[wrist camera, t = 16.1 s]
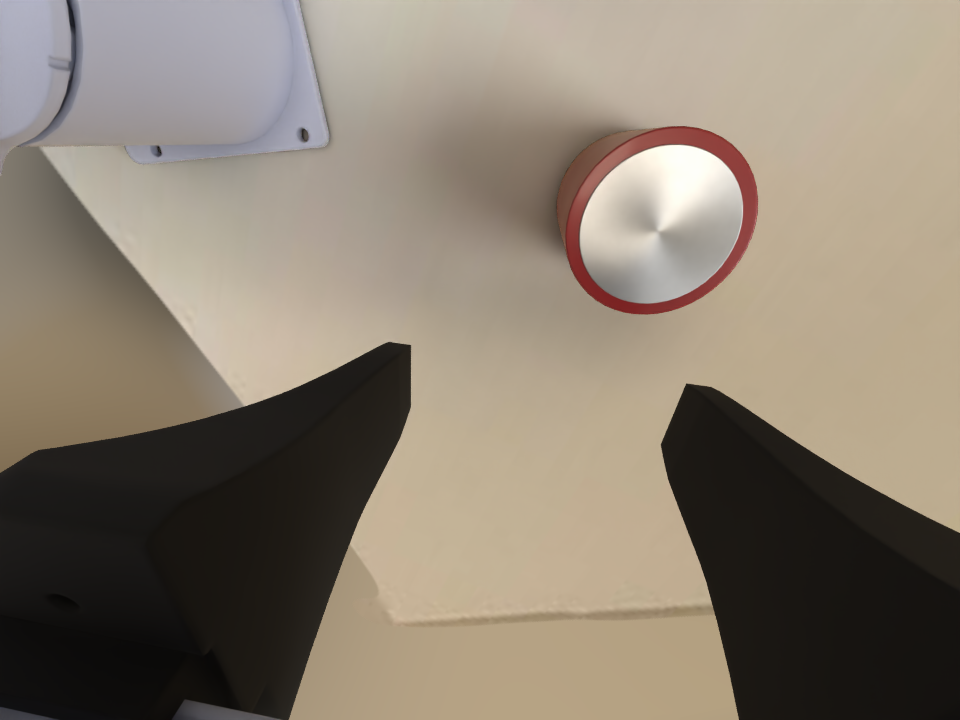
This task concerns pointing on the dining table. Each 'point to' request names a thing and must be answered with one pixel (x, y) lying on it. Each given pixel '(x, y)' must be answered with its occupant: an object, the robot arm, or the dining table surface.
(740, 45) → the dining table surface
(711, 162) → the can
